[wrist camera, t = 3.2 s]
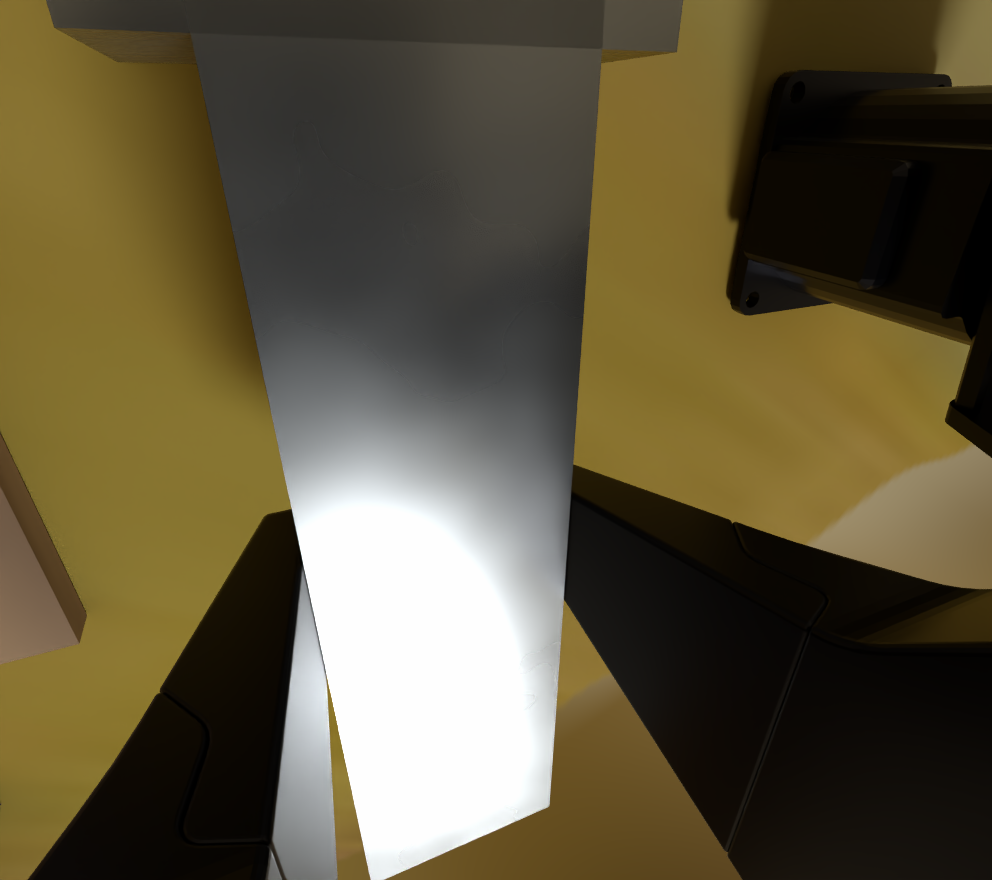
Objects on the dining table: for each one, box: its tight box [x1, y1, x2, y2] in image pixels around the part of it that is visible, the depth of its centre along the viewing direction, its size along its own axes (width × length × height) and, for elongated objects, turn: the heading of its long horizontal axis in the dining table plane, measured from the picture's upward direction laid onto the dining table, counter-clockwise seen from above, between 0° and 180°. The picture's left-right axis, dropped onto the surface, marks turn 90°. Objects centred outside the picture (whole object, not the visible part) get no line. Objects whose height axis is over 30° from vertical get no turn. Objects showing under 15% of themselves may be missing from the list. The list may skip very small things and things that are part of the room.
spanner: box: [46, 0, 683, 880], centre depth 8 cm, size 5×16×3 cm, turn 179°
